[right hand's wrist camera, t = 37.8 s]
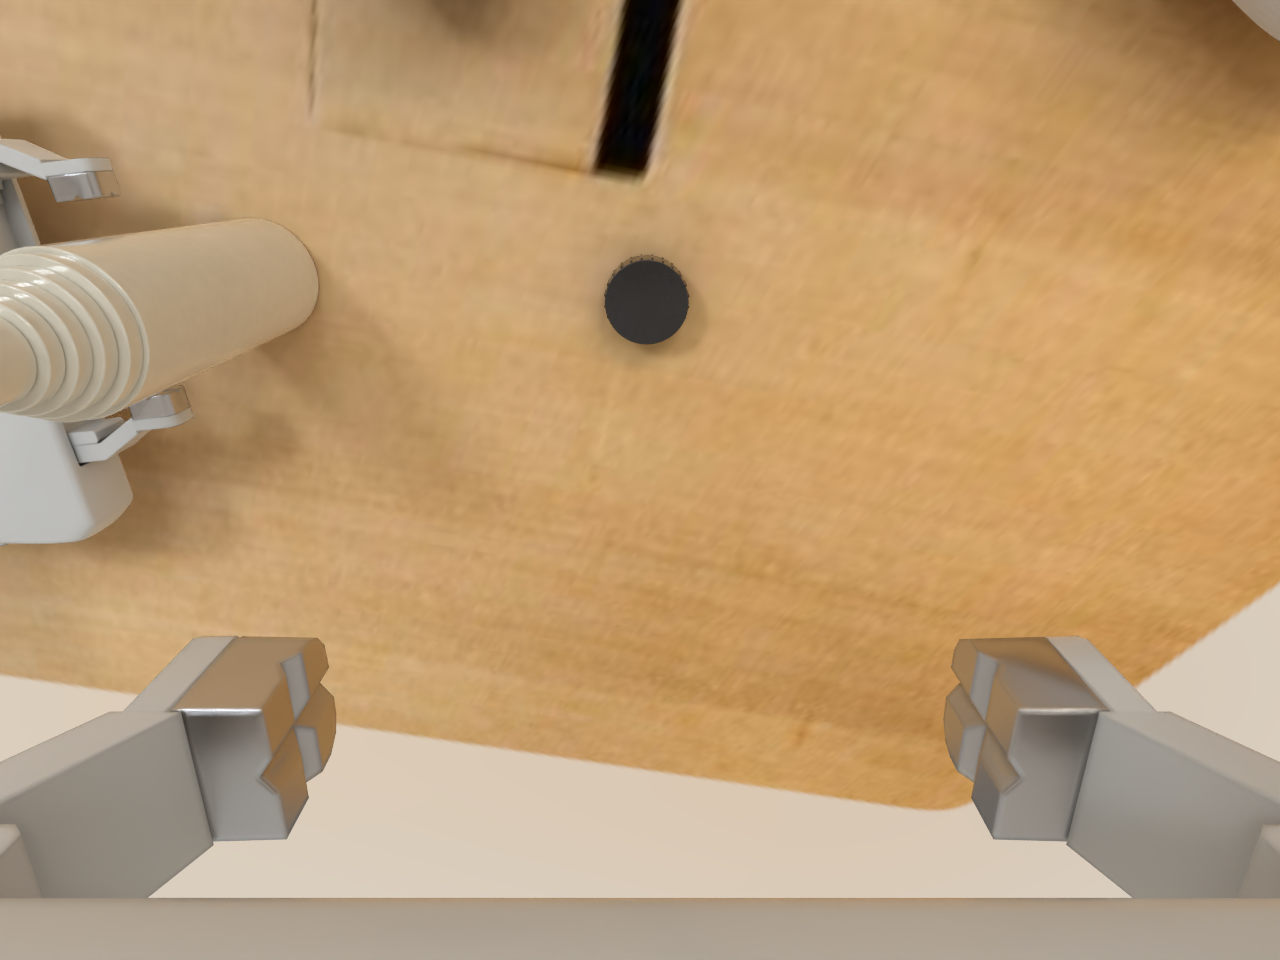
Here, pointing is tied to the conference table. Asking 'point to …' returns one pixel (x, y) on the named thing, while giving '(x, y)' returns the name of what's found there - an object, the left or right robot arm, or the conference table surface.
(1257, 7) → the white plastic housing
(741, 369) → the conference table surface
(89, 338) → the bottle
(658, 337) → the cap
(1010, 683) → the right robot arm
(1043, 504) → the conference table surface
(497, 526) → the conference table surface
